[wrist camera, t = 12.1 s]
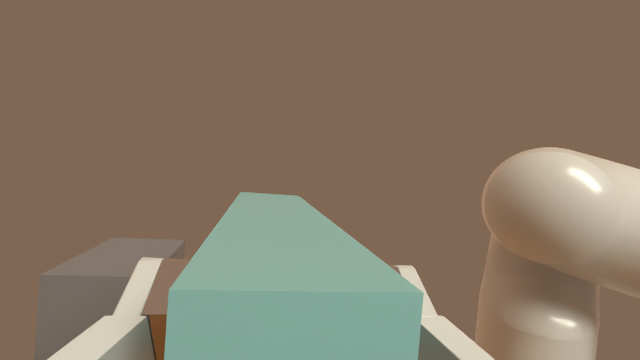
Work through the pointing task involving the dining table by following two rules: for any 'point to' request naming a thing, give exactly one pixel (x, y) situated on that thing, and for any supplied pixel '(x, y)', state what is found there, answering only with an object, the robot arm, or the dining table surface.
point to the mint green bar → (289, 291)
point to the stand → (90, 288)
